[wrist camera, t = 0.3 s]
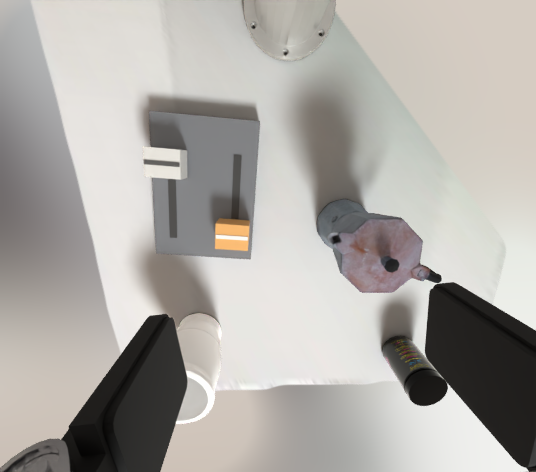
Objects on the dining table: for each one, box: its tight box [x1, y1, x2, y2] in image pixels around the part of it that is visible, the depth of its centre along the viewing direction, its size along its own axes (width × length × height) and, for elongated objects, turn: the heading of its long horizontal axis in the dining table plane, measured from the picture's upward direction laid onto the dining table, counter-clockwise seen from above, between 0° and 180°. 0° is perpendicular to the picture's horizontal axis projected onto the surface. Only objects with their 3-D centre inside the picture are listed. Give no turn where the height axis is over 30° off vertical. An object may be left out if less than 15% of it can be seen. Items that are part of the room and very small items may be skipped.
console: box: [149, 111, 260, 259], centre depth 41 cm, size 22×16×3 cm
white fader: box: [142, 146, 187, 180], centre depth 36 cm, size 4×5×4 cm
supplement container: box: [383, 336, 448, 406], centre depth 48 cm, size 7×7×10 cm
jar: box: [176, 313, 222, 424], centre depth 43 cm, size 11×10×15 cm
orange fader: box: [215, 218, 250, 251], centre depth 40 cm, size 4×5×4 cm
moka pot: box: [317, 199, 442, 293], centre depth 35 cm, size 10×15×20 cm, turn 73°
